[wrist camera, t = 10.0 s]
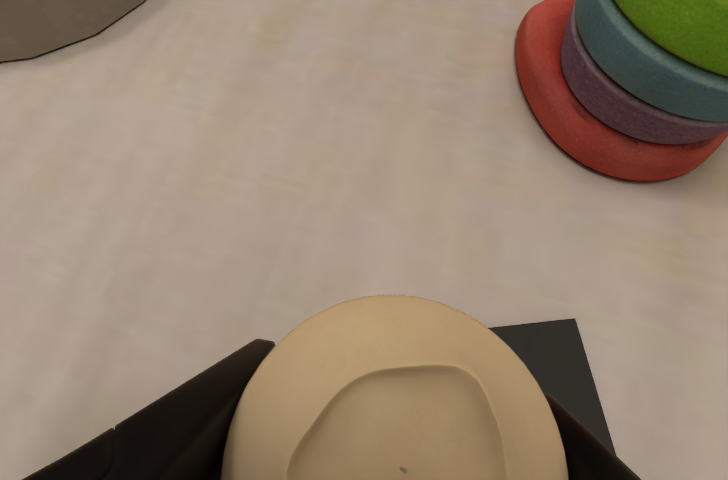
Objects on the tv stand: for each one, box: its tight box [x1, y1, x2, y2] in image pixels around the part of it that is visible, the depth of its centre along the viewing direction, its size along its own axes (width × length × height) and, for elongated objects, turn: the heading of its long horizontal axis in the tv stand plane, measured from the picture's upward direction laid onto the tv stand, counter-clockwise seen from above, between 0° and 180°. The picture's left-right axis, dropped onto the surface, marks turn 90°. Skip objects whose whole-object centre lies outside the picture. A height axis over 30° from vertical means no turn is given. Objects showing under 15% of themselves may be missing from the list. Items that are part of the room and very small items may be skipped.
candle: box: [221, 295, 569, 480], centre depth 10 cm, size 6×6×10 cm
